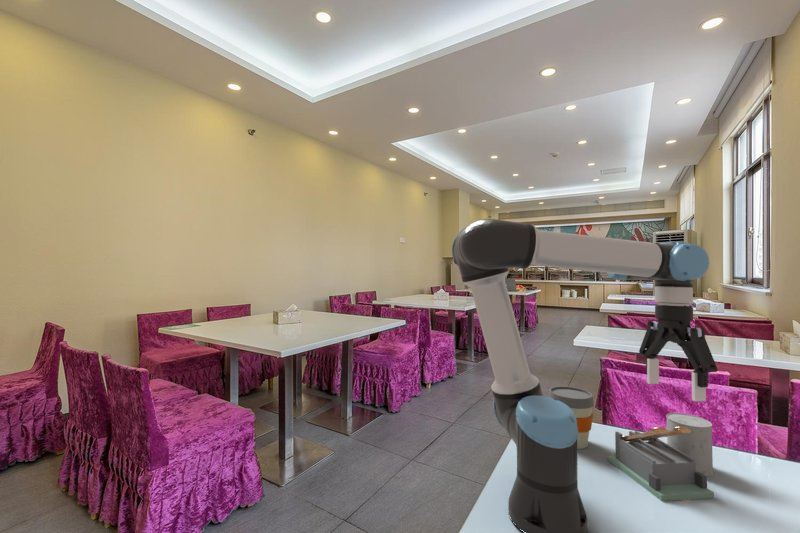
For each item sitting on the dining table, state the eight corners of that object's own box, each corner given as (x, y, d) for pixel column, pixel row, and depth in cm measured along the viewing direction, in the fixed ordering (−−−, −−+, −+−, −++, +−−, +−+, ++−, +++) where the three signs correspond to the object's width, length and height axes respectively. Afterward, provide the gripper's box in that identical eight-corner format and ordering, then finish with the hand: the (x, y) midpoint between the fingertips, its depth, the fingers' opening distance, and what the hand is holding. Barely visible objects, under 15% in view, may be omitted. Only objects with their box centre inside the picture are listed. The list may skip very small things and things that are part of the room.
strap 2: (681, 434, 83) (678, 426, 84) (639, 441, 96) (637, 434, 97) (692, 434, 83) (689, 426, 84) (649, 440, 96) (646, 434, 97)
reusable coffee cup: (542, 432, 114) (541, 385, 115) (581, 432, 114) (580, 386, 114) (559, 451, 101) (559, 399, 102) (603, 452, 101) (602, 399, 102)
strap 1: (659, 435, 83) (656, 427, 83) (620, 441, 95) (618, 435, 96) (670, 434, 83) (667, 426, 84) (630, 441, 96) (627, 434, 96)
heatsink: (661, 500, 79) (660, 463, 79) (607, 459, 97) (607, 429, 97) (714, 497, 80) (713, 461, 81) (651, 457, 98) (650, 428, 98)
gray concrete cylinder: (661, 454, 100) (660, 411, 100) (702, 460, 97) (701, 415, 97) (675, 472, 91) (674, 424, 91) (721, 479, 88) (720, 429, 88)
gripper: (738, 308, 76) (740, 409, 75) (648, 301, 100) (649, 377, 100) (706, 308, 75) (708, 410, 74) (623, 301, 100) (624, 377, 99)
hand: (674, 391), depth 87 cm, fingers open, 12 cm apart
